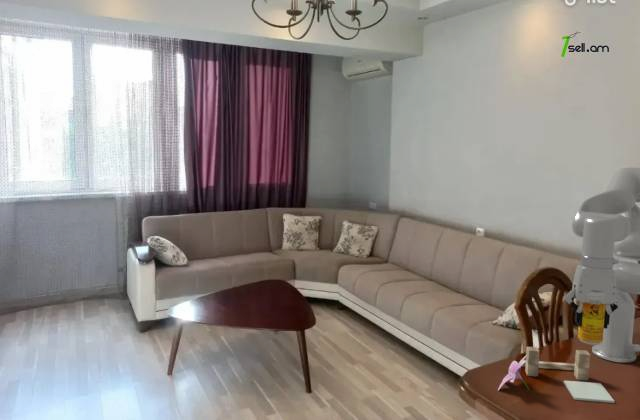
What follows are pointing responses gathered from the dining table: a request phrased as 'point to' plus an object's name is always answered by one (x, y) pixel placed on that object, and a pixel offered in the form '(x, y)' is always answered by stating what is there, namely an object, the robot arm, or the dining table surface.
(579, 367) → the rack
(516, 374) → the lily
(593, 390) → the mat
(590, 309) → the beer can
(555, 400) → the dining table surface
